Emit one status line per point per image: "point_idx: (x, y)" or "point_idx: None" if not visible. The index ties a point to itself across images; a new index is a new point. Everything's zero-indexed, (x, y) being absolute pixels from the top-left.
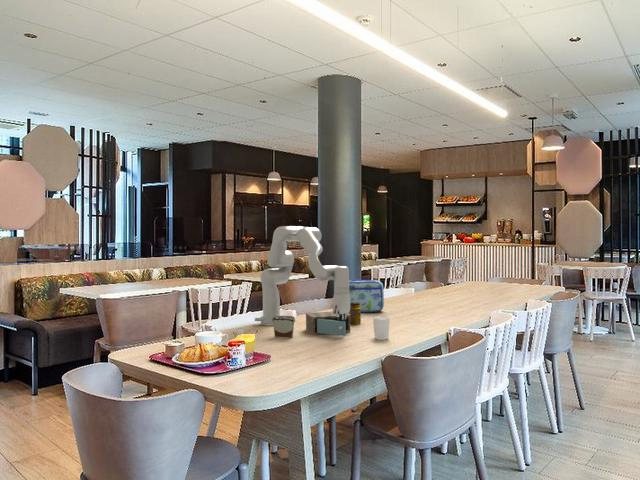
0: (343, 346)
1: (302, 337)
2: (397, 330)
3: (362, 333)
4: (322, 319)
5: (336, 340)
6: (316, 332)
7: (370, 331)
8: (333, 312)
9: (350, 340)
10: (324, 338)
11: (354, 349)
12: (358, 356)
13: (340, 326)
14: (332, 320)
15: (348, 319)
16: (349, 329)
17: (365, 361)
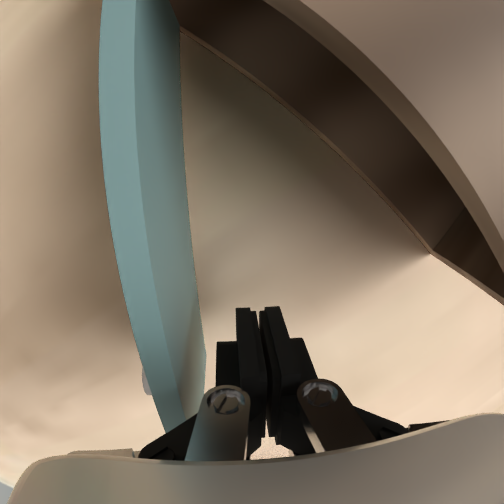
0: (26, 415)
1: (18, 28)
2: (494, 406)
3: (414, 348)
4: (116, 39)
5: (81, 332)
6: (176, 10)
7: (474, 344)
8: (28, 487)
9: (151, 404)
10: (68, 205)
11: (39, 456)
12: (7, 470)
13: (149, 392)
14: (135, 301)
15: (501, 296)
16: (440, 258)
17: (3, 482)
